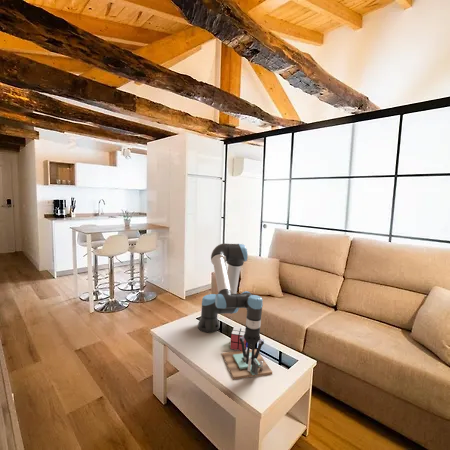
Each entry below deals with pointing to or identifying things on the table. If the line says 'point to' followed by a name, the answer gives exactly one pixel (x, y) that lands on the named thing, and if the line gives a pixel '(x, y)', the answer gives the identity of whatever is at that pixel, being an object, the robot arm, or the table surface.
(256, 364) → the flange plate
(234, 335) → the puzzle cube
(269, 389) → the table surface
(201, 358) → the table surface
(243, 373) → the board
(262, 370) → the stop dowel
